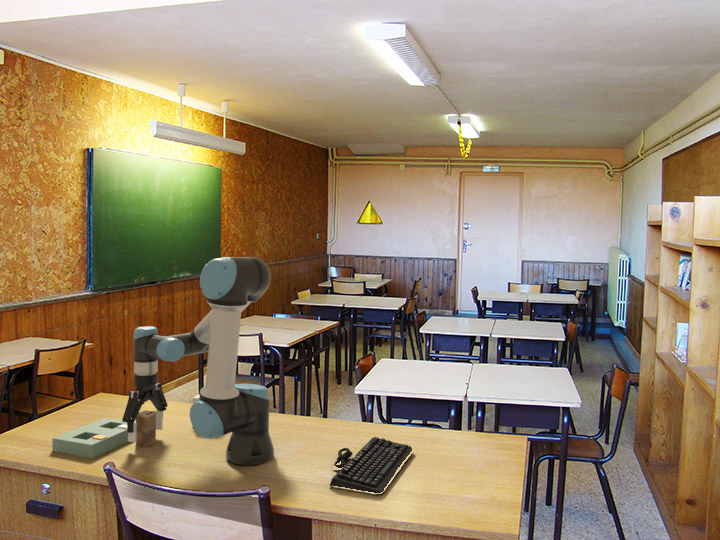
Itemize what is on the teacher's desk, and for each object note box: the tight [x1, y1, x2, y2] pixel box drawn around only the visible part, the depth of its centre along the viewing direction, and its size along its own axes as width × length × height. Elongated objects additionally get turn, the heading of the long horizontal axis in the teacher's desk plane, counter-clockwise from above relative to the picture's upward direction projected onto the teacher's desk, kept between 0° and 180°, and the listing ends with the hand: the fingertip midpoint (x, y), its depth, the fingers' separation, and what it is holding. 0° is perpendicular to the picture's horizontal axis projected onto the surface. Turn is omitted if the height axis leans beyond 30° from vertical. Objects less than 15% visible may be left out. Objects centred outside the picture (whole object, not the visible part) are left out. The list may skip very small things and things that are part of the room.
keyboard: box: [329, 436, 413, 493], centre depth 196 cm, size 37×22×5 cm, turn 160°
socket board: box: [51, 417, 128, 460], centre depth 212 cm, size 16×24×5 cm, turn 161°
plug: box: [135, 409, 157, 448], centre depth 211 cm, size 5×5×11 cm
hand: (145, 435), depth 211 cm, fingers open, 13 cm apart
